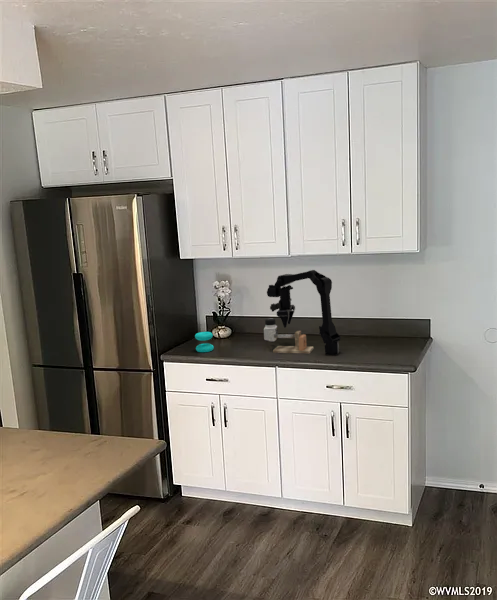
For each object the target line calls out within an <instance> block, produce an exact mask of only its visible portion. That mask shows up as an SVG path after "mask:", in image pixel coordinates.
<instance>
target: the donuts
mask: <svg viewBox="0 0 497 600" xmlns="http://www.w3.org/2000/svg"><path fill="white" fill-rule="evenodd" d="M213 336H214V334H213V333H212V332H211V331H200V332H197V333H195V335H194V338H195V340H197V341H201V342H202V341H209V340H211V339H213ZM214 347H215V346H214V345H213V344H211V343H209V342H205V343H200V344H198V345H196V346H195V351H196V352H198V353H209V352H212V351H213V350H214V349H215V348H214Z"/></svg>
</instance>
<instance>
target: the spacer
mask: <svg viewBox="0 0 497 600" xmlns="http://www.w3.org/2000/svg"><path fill="white" fill-rule="evenodd" d="M306 347H308V346H307V334H301V336H300V337H299V350H304V349H305V348H306Z"/></svg>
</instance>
